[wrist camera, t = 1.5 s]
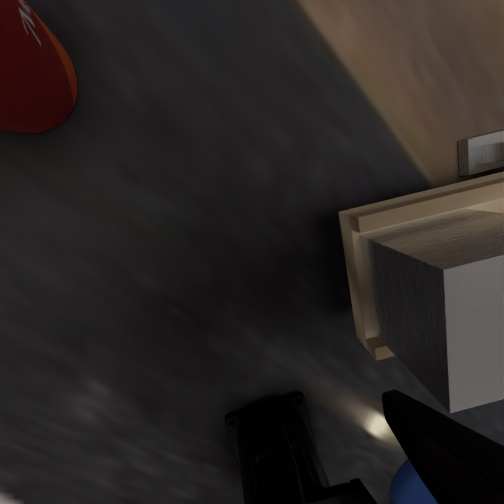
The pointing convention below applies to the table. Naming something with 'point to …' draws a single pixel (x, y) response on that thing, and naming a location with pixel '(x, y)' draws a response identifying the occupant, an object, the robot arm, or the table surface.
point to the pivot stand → (481, 153)
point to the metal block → (442, 302)
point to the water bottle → (409, 487)
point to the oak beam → (398, 213)
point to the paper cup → (32, 72)
